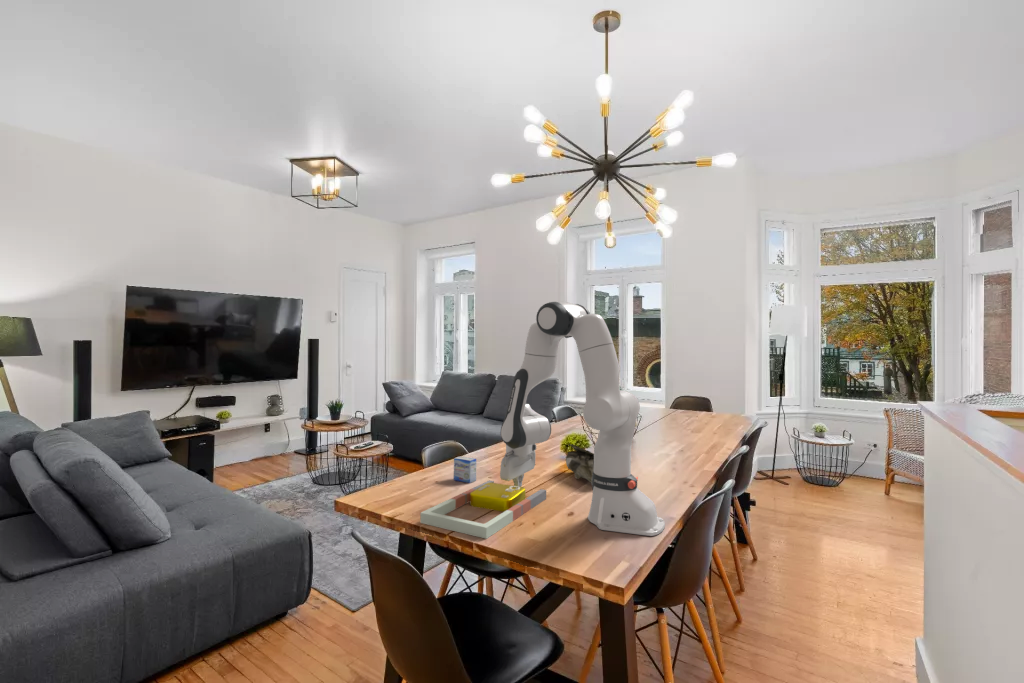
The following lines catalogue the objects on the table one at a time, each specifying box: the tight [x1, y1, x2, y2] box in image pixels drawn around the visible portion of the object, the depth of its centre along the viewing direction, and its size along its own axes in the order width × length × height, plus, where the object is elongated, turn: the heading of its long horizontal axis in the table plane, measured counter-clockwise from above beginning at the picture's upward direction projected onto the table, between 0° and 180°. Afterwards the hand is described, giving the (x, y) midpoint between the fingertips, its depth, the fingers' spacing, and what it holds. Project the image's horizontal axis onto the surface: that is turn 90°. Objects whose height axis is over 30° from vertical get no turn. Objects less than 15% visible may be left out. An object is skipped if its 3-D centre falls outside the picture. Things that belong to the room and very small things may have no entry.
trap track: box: [420, 479, 547, 539], centre depth 154 cm, size 23×39×3 cm, turn 151°
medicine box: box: [453, 456, 477, 484], centre depth 187 cm, size 8×4×9 cm, turn 62°
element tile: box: [469, 482, 526, 513], centre depth 162 cm, size 15×15×5 cm
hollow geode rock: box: [565, 443, 594, 485], centre depth 191 cm, size 28×13×15 cm
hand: (518, 487), depth 172 cm, fingers closed
